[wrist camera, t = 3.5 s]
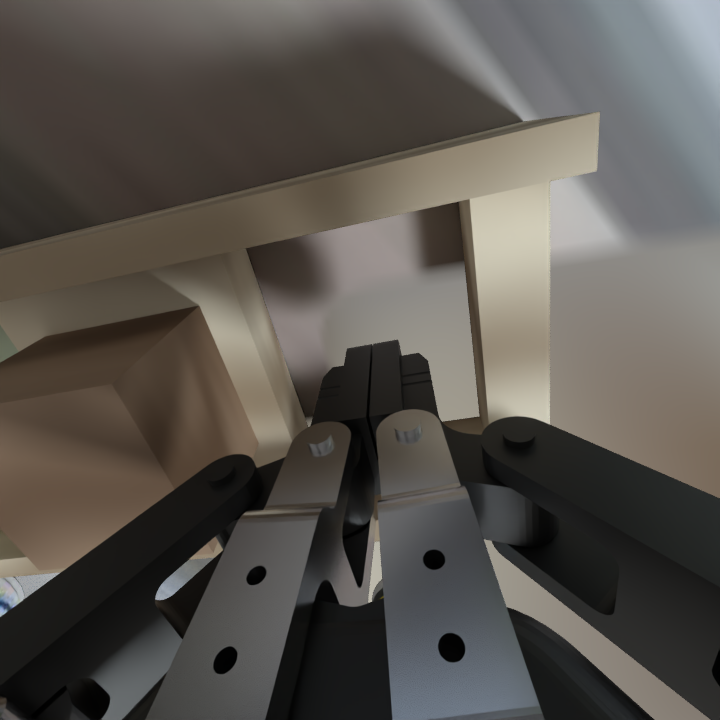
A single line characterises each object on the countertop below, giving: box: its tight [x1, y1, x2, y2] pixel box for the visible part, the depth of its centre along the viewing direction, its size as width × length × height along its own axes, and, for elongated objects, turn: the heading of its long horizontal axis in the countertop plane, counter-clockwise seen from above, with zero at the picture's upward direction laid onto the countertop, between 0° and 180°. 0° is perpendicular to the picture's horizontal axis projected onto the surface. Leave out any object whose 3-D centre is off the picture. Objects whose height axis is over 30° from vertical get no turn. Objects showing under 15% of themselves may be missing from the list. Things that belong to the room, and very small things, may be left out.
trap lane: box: [0, 112, 600, 578], centre depth 14 cm, size 11×34×4 cm, turn 102°
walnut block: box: [0, 306, 259, 571], centre depth 12 cm, size 6×6×4 cm
